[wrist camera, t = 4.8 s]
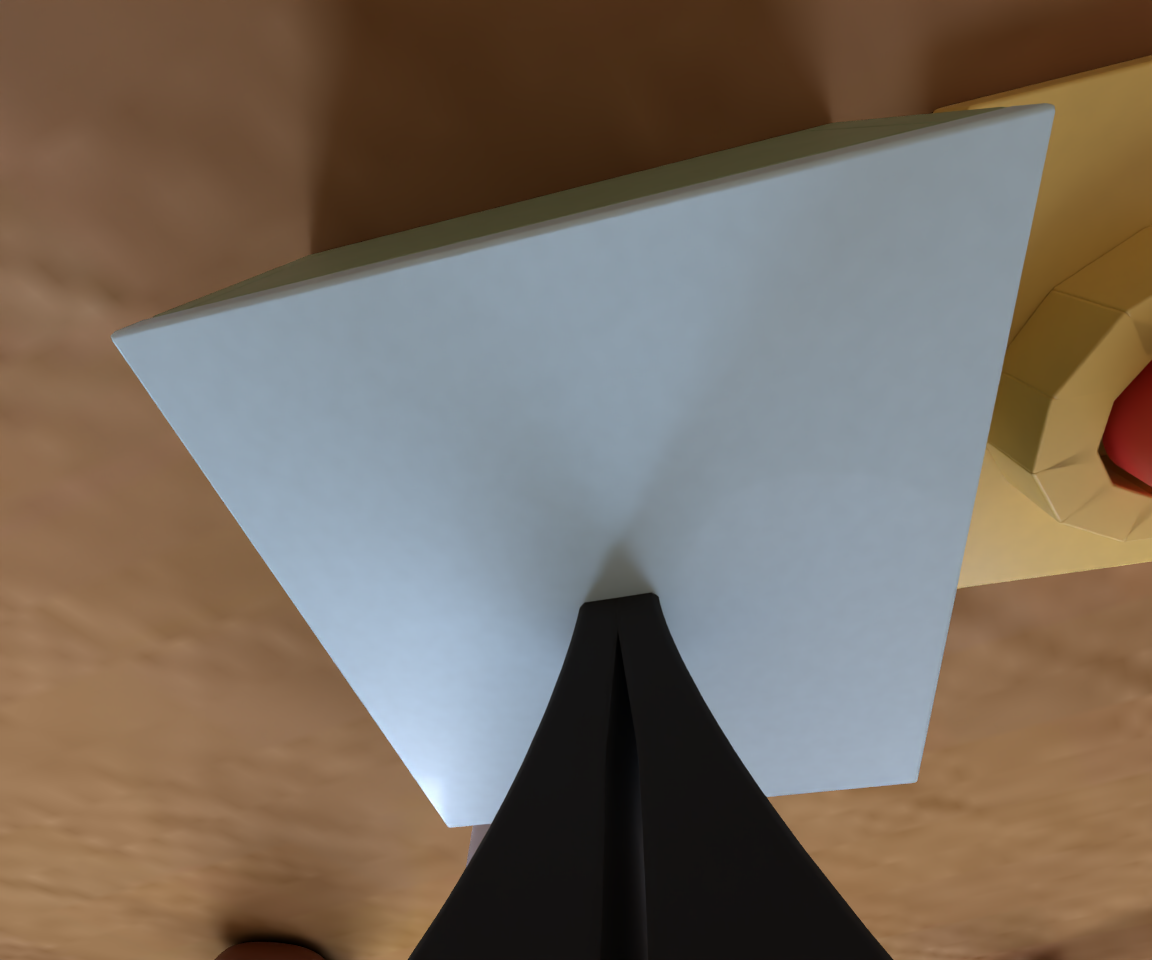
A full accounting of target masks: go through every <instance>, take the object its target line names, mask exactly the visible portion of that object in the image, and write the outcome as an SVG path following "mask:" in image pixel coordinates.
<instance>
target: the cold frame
mask: <svg viewBox="0 0 1152 960" xmlns="http://www.w3.org/2000/svg"><path fill="white" fill-rule="evenodd" d="M1003 108H1007V107H994V108H983V109H973V110H962V111H952V112H941V113H931V114H920V115H910V116H899V117H889V118H878V119H868V120H857V121H847V122H836V123H830V124H826V125H822V126H818V127H814V128H810V129H806V130H802V131H798V132H795V133H791V134H787V135H783V136H779V137H775V138H771V139H767V140H763V141H759V142H755V143H751V144H747V145H743V146H739V147H735V148H731V149H727V150H723V151H719V152H715V153H711V154H707V155H703V156H700V157H696V158H692V159H688V160H684V161H680V162H676V163H672V164H668V165H664V166H660V167H656V168H652V169H648V170H644V171H640V172H636V173H632V174H628V175H624V176H620V177H616V178H612V179H608V180H605V181H601V182H597V183H593V184H589V185H585V186H581V187H577V188H573V189H569V190H565V191H561V192H557V193H553V194H549V195H545V196H541V197H537V198H533V199H529V200H525V201H521V202H517V203H513V204H510V205H506V206H502V207H498V208H494V209H490V210H486V211H482V212H478V213H474V214H470V215H466V216H462V217H458V218H454V219H450V220H446V221H442V222H438V223H434V224H430V225H426V226H422V227H418V228H415V229H411V230H407V231H403V232H399V233H395V234H391V235H387V236H383V237H379V238H375V239H371V240H367V241H363V242H359V243H355V244H351V245H347V246H343V247H339V248H335V249H331V250H327V251H323V252H320V253H316V254H312V255H308V256H305V257H303V258H300V259H298V260H296V261H293V262H290V263H288V264H285V265H283V266H280V267H278V268H275V269H273V270H270V271H267V272H265V273H262V274H260V275H257V276H255V277H252V278H250V279H247V280H244V281H242V282H239V283H237V284H234V285H232V286H229V287H227V288H224V289H221V290H219V291H216V292H214V293H211V294H209V295H206V296H204V297H201V298H199V299H196V300H193V301H191V302H188V303H186V304H183V305H181V306H178V307H176V308H173V309H170V310H168V311H165V312H163V313H160V314H158V315H155V316H154V317H158V316H162V315H166V314H170V313H174V312H178V311H182V310H186V309H190V308H194V307H198V306H202V305H207V304H211V303H215V302H219V301H223V300H227V299H231V298H235V297H239V296H243V295H247V294H251V293H255V292H259V291H263V290H267V289H271V288H276V287H280V286H284V285H288V284H292V283H296V282H300V281H304V280H308V279H312V278H316V277H320V276H324V275H328V274H332V273H336V272H341V271H345V270H349V269H353V268H357V267H361V266H365V265H369V264H373V263H377V262H381V261H385V260H389V259H393V258H397V257H401V256H406V255H410V254H414V253H418V252H422V251H426V250H430V249H434V248H438V247H442V246H446V245H450V244H454V243H458V242H462V241H466V240H471V239H475V238H479V237H483V236H487V235H491V234H495V233H499V232H503V231H507V230H511V229H515V228H519V227H523V226H527V225H531V224H535V223H540V222H544V221H548V220H552V219H556V218H560V217H564V216H568V215H572V214H576V213H580V212H584V211H588V210H592V209H596V208H600V207H605V206H609V205H613V204H617V203H621V202H625V201H629V200H633V199H637V198H641V197H645V196H649V195H653V194H657V193H661V192H665V191H670V190H674V189H678V188H682V187H686V186H690V185H694V184H698V183H702V182H706V181H710V180H714V179H718V178H722V177H726V176H730V175H735V174H739V173H743V172H747V171H751V170H755V169H759V168H763V167H767V166H771V165H775V164H779V163H783V162H787V161H791V160H795V159H799V158H804V157H808V156H812V155H816V154H820V153H824V152H828V151H832V150H836V149H840V148H844V147H848V146H852V145H856V144H860V143H864V142H869V141H873V140H877V139H881V138H885V137H889V136H893V135H897V134H901V133H905V132H909V131H913V130H917V129H921V128H925V127H929V126H934V125H938V124H942V123H946V122H950V121H954V120H958V119H962V118H966V117H970V116H974V115H978V114H982V113H986V112H990V111H994V110H998V109H1003ZM154 317H153V318H154Z"/></svg>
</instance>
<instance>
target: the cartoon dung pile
mask: <svg viewBox="0 0 1152 960" xmlns="http://www.w3.org/2000/svg"><path fill="white" fill-rule="evenodd" d="M215 960H324V959H323V958H322V957H321V956H320V955H318V954H317V953H315V952H313V951H311V950H309V949H306V948H303V947H300V946H296V945H291V944H285V943H275V942H248V943H241V944H237V945H234V946H232V947H229V948H228V949H226V950H225V951H223V952H222V953H221V954H220V955H219V956H218V957H217V958H216V959H215Z"/></svg>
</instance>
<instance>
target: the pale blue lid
mask: <svg viewBox="0 0 1152 960" xmlns="http://www.w3.org/2000/svg"><path fill="white" fill-rule="evenodd" d="M1054 115H1055V106H1054V105H1052V104H1048V103H1042V104H1030V105H1019V106H1011V107H1007V108H1003V109H998V110H994V111H990V112H986V113H982V114H978V115H974V116H970V117H966V118H962V119H958V120H954V121H950V122H946V123H942V124H938V125H934V126H929V127H925V128H921V129H917V130H913V131H909V132H905V133H901V134H897V135H893V136H889V137H885V138H881V139H877V140H873V141H869V142H864V143H860V144H856V145H852V146H848V147H844V148H840V149H836V150H832V151H828V152H824V153H820V154H816V155H812V156H808V157H804V158H799V159H795V160H791V161H787V162H783V163H779V164H775V165H771V166H767V167H763V168H759V169H755V170H751V171H747V172H743V173H739V174H735V175H730V176H726V177H722V178H718V179H714V180H710V181H706V182H702V183H698V184H694V185H690V186H686V187H682V188H678V189H674V190H670V191H665V192H661V193H657V194H653V195H649V196H645V197H641V198H637V199H633V200H629V201H625V202H621V203H617V204H613V205H609V206H605V207H600V208H596V209H592V210H588V211H584V212H580V213H576V214H572V215H568V216H564V217H560V218H556V219H552V220H548V221H544V222H540V223H535V224H531V225H527V226H523V227H519V228H515V229H511V230H507V231H503V232H499V233H495V234H491V235H487V236H483V237H479V238H475V239H471V240H466V241H462V242H458V243H454V244H450V245H446V246H442V247H438V248H434V249H430V250H426V251H422V252H418V253H414V254H410V255H406V256H401V257H397V258H393V259H389V260H385V261H381V262H377V263H373V264H369V265H365V266H361V267H357V268H353V269H349V270H345V271H341V272H336V273H332V274H328V275H324V276H320V277H316V278H312V279H308V280H304V281H300V282H296V283H292V284H288V285H284V286H280V287H276V288H271V289H267V290H263V291H259V292H255V293H251V294H247V295H243V296H239V297H235V298H231V299H227V300H223V301H219V302H215V303H211V304H207V305H202V306H198V307H194V308H190V309H186V310H182V311H178V312H174V313H170V314H166V315H162V316H158V317H154V318H150V319H146V320H142V321H140V322H137V323H135V324H132V325H130V326H127V327H125V328H122V329H120V330H117V331H115V332H114V333H113V334H112V335H111V339H112V341H113V342H114V344H115V345H116V347H117V348H118V350H119V351H120V353H121V354H122V356H123V357H124V358H125V360H126V361H127V363H128V364H129V366H130V367H131V369H132V370H133V371H134V373H135V374H136V376H137V377H138V379H139V380H140V382H141V383H142V384H143V386H144V387H145V389H146V390H147V392H148V393H149V395H150V396H151V398H152V399H153V400H154V402H155V403H156V405H157V406H158V408H159V409H160V411H161V412H162V413H163V415H164V416H165V418H166V419H167V421H168V422H169V424H170V425H171V426H172V428H173V429H174V431H175V432H176V434H177V435H178V437H179V438H180V439H181V441H182V442H183V444H184V445H185V447H186V448H187V450H188V451H189V453H190V454H191V455H192V457H193V458H194V460H195V461H196V463H197V464H198V466H199V467H200V468H201V470H202V471H203V473H204V474H205V476H206V477H207V479H208V480H209V481H210V483H211V484H212V486H213V487H214V489H215V490H216V492H217V493H218V495H219V496H220V497H221V499H222V500H223V502H224V503H225V505H226V506H227V508H228V509H229V510H230V512H231V513H232V515H233V516H234V518H235V519H236V521H237V522H238V523H239V525H240V526H241V528H242V529H243V531H244V532H245V534H246V535H247V537H248V538H249V539H250V541H251V542H252V544H253V545H254V547H255V548H256V550H257V551H258V552H259V554H260V555H261V557H262V558H263V560H264V561H265V563H266V564H267V565H268V567H269V568H270V570H271V571H272V573H273V574H274V576H275V577H276V578H277V580H278V581H279V583H280V584H281V586H282V587H283V589H284V590H285V592H286V593H287V594H288V596H289V597H290V599H291V600H292V602H293V603H294V605H295V606H296V607H297V609H298V610H299V612H300V613H301V615H302V616H303V618H304V619H305V620H306V622H307V623H308V625H309V626H310V628H311V629H312V631H313V632H314V634H315V635H316V636H317V638H318V639H319V641H320V642H321V644H322V645H323V647H324V648H325V649H326V651H327V652H328V654H329V655H330V657H331V658H332V660H333V661H334V662H335V664H336V665H337V667H338V668H339V670H340V671H341V673H342V674H343V675H344V677H345V678H346V680H347V681H348V683H349V684H350V686H351V687H352V689H353V690H354V691H355V693H356V694H357V696H358V697H359V699H360V700H361V702H362V703H363V704H364V706H365V707H366V709H367V710H368V712H369V713H370V715H371V716H372V717H373V719H374V720H375V722H376V723H377V725H378V726H379V728H380V729H381V731H382V732H383V733H384V735H385V736H386V738H387V739H388V741H389V742H390V744H391V745H392V746H393V748H394V749H395V751H396V752H397V754H398V755H399V757H400V758H401V759H402V761H403V762H404V764H405V765H406V767H407V768H408V770H409V771H410V773H411V774H412V775H413V777H414V778H415V780H416V781H417V783H418V784H419V786H420V787H421V788H422V790H423V791H424V793H425V794H426V796H427V797H428V799H429V800H430V801H431V803H432V804H433V806H434V807H435V809H436V810H437V812H438V813H439V814H440V816H441V817H442V819H443V820H444V822H445V823H446V825H447V826H448V827H460V826H471V825H481V824H491V823H492V821H493V820H494V818H495V816H496V814H497V812H498V810H499V808H500V806H501V805H502V803H503V801H504V799H505V797H506V795H507V793H508V791H509V789H510V787H511V785H512V783H513V781H514V779H515V777H516V775H517V773H518V771H519V769H520V767H521V765H522V762H523V760H524V758H525V756H526V754H527V751H528V749H529V747H530V745H531V742H532V740H533V738H534V736H535V733H536V731H537V729H538V727H539V724H540V722H541V720H542V718H543V715H544V713H545V710H546V708H547V705H548V703H549V700H550V698H551V695H552V692H553V690H554V687H555V684H556V682H557V679H558V677H559V674H560V671H561V669H562V666H563V663H564V660H565V657H566V654H567V651H568V648H569V645H570V642H571V638H572V635H573V632H574V628H575V624H576V621H577V617H578V613H579V608H580V607H581V606H582V605H583V603H584V602H591V601H598V600H604V599H611V598H618V597H624V596H631V595H637V594H644V593H650V592H652V593H654V594H656V595H657V596H659V600H660V605H661V608H662V611H663V615H664V618H665V620H666V623H667V626H668V628H669V631H670V633H671V635H672V638H673V640H674V642H675V644H676V647H677V649H678V651H679V653H680V655H681V657H682V659H683V661H684V663H685V665H686V667H687V669H688V671H689V673H690V675H691V677H692V679H693V680H694V682H695V684H696V686H697V688H698V690H699V692H700V693H701V695H702V697H703V699H704V701H705V702H706V704H707V706H708V708H709V709H710V711H711V713H712V714H713V716H714V718H715V719H716V721H717V723H718V724H719V726H720V728H721V729H722V731H723V732H724V734H725V736H726V737H727V739H728V740H729V742H730V744H731V745H732V747H733V748H734V750H735V752H736V753H737V755H738V756H739V758H740V759H741V761H742V762H743V764H744V765H745V767H746V768H747V770H748V771H749V773H750V774H751V776H752V777H753V779H754V780H755V782H756V783H757V784H758V786H759V787H760V789H761V790H762V792H763V793H764V794H765V796H766V797H771V796H781V795H792V794H802V793H812V792H823V791H833V790H843V789H854V788H864V787H875V786H885V785H895V784H906V783H914V782H916V781H917V779H918V774H919V769H920V764H921V760H922V755H923V750H924V745H925V740H926V735H927V731H928V726H929V721H930V716H931V711H932V706H933V701H934V697H935V692H936V687H937V682H938V677H939V672H940V668H941V663H942V658H943V653H944V648H945V643H946V638H947V634H948V629H949V624H950V619H951V614H952V609H953V604H954V600H955V595H956V590H957V585H958V580H959V575H960V571H961V566H962V561H963V556H964V551H965V546H966V541H967V537H968V532H969V527H970V522H971V517H972V512H973V507H974V503H975V498H976V493H977V488H978V483H979V478H980V474H981V469H982V464H983V459H984V454H985V449H986V444H987V440H988V435H989V430H990V425H991V420H992V415H993V410H994V406H995V401H996V396H997V391H998V386H999V381H1000V377H1001V372H1002V367H1003V362H1004V357H1005V352H1006V347H1007V343H1008V338H1009V333H1010V328H1011V323H1012V318H1013V313H1014V309H1015V304H1016V299H1017V294H1018V289H1019V284H1020V280H1021V275H1022V270H1023V265H1024V260H1025V255H1026V250H1027V246H1028V241H1029V236H1030V231H1031V226H1032V221H1033V217H1034V212H1035V207H1036V202H1037V197H1038V192H1039V187H1040V183H1041V178H1042V173H1043V168H1044V163H1045V158H1046V153H1047V149H1048V144H1049V139H1050V134H1051V129H1052V124H1053V120H1054Z"/></svg>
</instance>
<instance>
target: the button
mask: <svg viewBox="0 0 1152 960" xmlns="http://www.w3.org/2000/svg"><path fill="white" fill-rule="evenodd" d="M1102 438H1103V445H1104V448H1105V451H1106V453H1107V454H1108V456H1109V458H1110V459H1111V460H1112V461H1113V462H1114V463H1115V464H1116V465H1117V466H1118V467H1120V468H1121V469H1123V470H1125V471H1126V472H1128V473H1129V474H1131V475H1133V476H1134V477H1136V478H1138V479H1139V480H1141V481H1143V482H1144V483H1146V484H1148V485H1149V486H1151V487H1152V360H1151V361H1150V362H1149V363H1148V364H1147V366H1146V367H1145V368H1144V369H1143V370H1142V371H1141V372H1140V373H1139V374H1138V375H1137V376H1136V378H1135V379H1134V380H1133V381H1132V382H1131V383H1130V384H1129V385H1128V386H1127V387H1126V388H1125V390H1124V391H1123V392H1122V393H1121V394H1120V395H1119V396H1118V397H1117V398H1116V399H1115V400H1114V402H1113V406H1112V409H1111V412H1110V415H1109V418H1108V421H1107V424H1106V427H1105V430H1104V433H1103V436H1102Z"/></svg>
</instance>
